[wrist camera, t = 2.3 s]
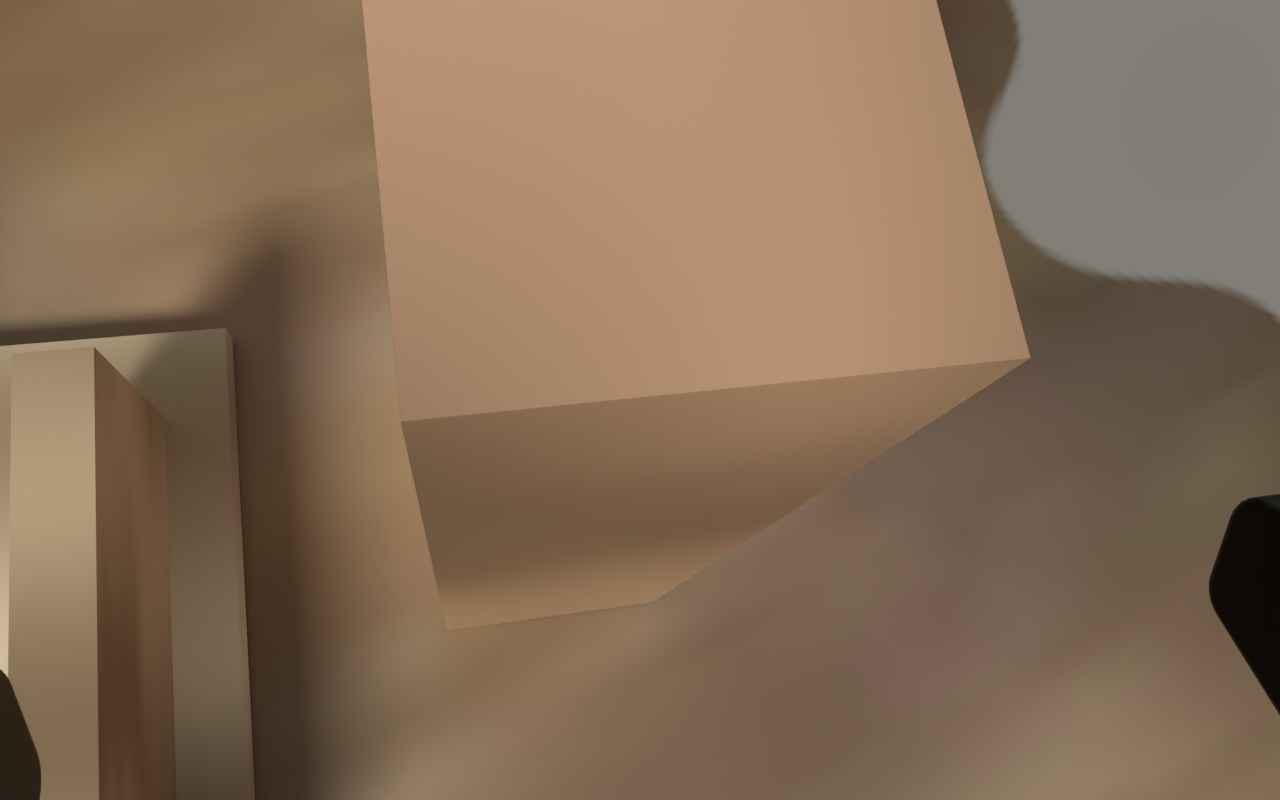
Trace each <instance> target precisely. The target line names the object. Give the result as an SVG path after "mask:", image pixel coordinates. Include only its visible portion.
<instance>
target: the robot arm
mask: <svg viewBox="0 0 1280 800" xmlns="http://www.w3.org/2000/svg"><path fill="white" fill-rule="evenodd" d="M1209 594H1210V600H1211V603H1212V606H1213V608H1214V610H1215V612H1216V614H1217V616H1218V617H1219V619H1220V620H1221V622H1222V624H1223V625H1224V627H1225V628H1226V630H1227V632H1228V633H1229V635H1230V636H1231V638H1232V640H1233V641H1234V643H1235V644H1236V646H1237V648H1238V649H1239V651H1240V652H1241V654H1242V656H1243V657H1244V659H1245V660H1246V662H1247V664H1248V665H1249V667H1250V668H1251V670H1252V672H1253V673H1254V675H1255V676H1256V678H1257V680H1258V681H1259V683H1260V684H1261V686H1262V688H1263V689H1264V691H1265V692H1266V694H1267V696H1268V697H1269V699H1270V700H1271V702H1272V704H1273V705H1274V707H1275V708H1276V710H1277V712H1278V713H1279V715H1280V494H1275V495H1268V496H1260V497H1253V498H1249V499H1246V500H1244V501H1242V502H1241V503H1240V504H1239V505H1238V506H1237V507H1236V508H1235V509H1234V511H1233V513H1232V515H1231V517H1230V520H1229V523H1228V526H1227V529H1226V532H1225V535H1224V537H1223V540H1222V543H1221V546H1220V549H1219V552H1218V555H1217V558H1216V561H1215V564H1214V567H1213V570H1212V572H1211V575H1210V580H1209ZM40 793H41V766H40V760H39V756H38V753H37V750H36V747H35V745H34V742H33V739H32V737H31V734H30V732H29V729H28V726H27V724H26V721H25V719H24V716H23V713H22V711H21V708H20V705H19V703H18V700H17V698H16V695H15V692H14V690H13V687H12V684H11V682H10V680H9V679H8V677H7V675H6V674H5V673H4V672H3V671H2V670H1V669H0V800H40Z"/></svg>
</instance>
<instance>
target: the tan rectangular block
mask: <svg viewBox="0 0 1280 800" xmlns="http://www.w3.org/2000/svg"><path fill="white" fill-rule="evenodd" d="M362 5H363V16H364V27H365V37H366V48H367V59H368V70H369V81H370V92H371V103H372V113H373V124H374V135H375V146H376V157H377V168H378V179H379V190H380V200H381V211H382V222H383V233H384V244H385V255H386V266H387V277H388V287H389V298H390V309H391V320H392V331H393V342H394V353H395V363H396V374H397V385H398V396H399V407H400V418H401V425H402V429H403V434H404V438H405V443H406V447H407V452H408V456H409V461H410V465H411V470H412V474H413V479H414V483H415V488H416V493H417V497H418V502H419V506H420V511H421V515H422V520H423V524H424V529H425V533H426V538H427V542H428V547H429V551H430V556H431V561H432V565H433V570H434V574H435V579H436V583H437V588H438V592H439V597H440V601H441V606H442V610H443V615H444V620H445V624H446V629H447V631H451V630H458V629H465V628H472V627H479V626H487V625H494V624H501V623H508V622H515V621H522V620H530V619H537V618H544V617H551V616H558V615H565V614H573V613H580V612H587V611H594V610H601V609H608V608H615V607H623V606H630V605H637V604H644V603H651V602H653V601H654V600H656V599H657V598H659V597H660V596H662V595H663V594H665V593H666V592H668V591H670V590H671V589H673V588H674V587H676V586H677V585H679V584H680V583H682V582H684V581H685V580H687V579H688V578H690V577H691V576H693V575H694V574H696V573H698V572H699V571H701V570H702V569H704V568H705V567H707V566H708V565H710V564H711V563H713V562H715V561H716V560H718V559H719V558H721V557H722V556H724V555H725V554H727V553H729V552H730V551H732V550H733V549H735V548H736V547H738V546H739V545H741V544H743V543H744V542H746V541H747V540H749V539H750V538H752V537H753V536H755V535H756V534H758V533H760V532H761V531H763V530H764V529H766V528H767V527H769V526H770V525H772V524H774V523H775V522H777V521H778V520H780V519H781V518H783V517H784V516H786V515H788V514H789V513H791V512H792V511H794V510H795V509H797V508H798V507H800V506H801V505H803V504H805V503H806V502H808V501H809V500H811V499H812V498H814V497H815V496H817V495H819V494H820V493H822V492H823V491H825V490H826V489H828V488H829V487H831V486H833V485H834V484H836V483H837V482H839V481H840V480H842V479H843V478H845V477H846V476H848V475H850V474H851V473H853V472H854V471H856V470H857V469H859V468H860V467H862V466H864V465H865V464H867V463H868V462H870V461H871V460H873V459H874V458H876V457H878V456H879V455H881V454H882V453H884V452H885V451H887V450H888V449H890V448H891V447H893V446H895V445H896V444H898V443H899V442H901V441H902V440H904V439H905V438H907V437H909V436H910V435H912V434H913V433H915V432H916V431H918V430H919V429H921V428H923V427H924V426H926V425H927V424H929V423H930V422H932V421H933V420H935V419H937V418H938V417H940V416H941V415H943V414H944V413H946V412H947V411H949V410H950V409H952V408H954V407H955V406H957V405H958V404H960V403H961V402H963V401H964V400H966V399H968V398H969V397H971V396H972V395H974V394H975V393H977V392H978V391H980V390H982V389H983V388H985V387H986V386H988V385H989V384H991V383H992V382H994V381H995V380H997V379H999V378H1000V377H1002V376H1003V375H1005V374H1006V373H1008V372H1009V371H1011V370H1013V369H1014V368H1016V367H1017V366H1019V365H1020V364H1022V363H1023V362H1025V361H1027V360H1028V359H1030V354H1029V351H1028V347H1027V343H1026V339H1025V336H1024V332H1023V328H1022V324H1021V320H1020V317H1019V313H1018V309H1017V305H1016V301H1015V298H1014V294H1013V290H1012V286H1011V282H1010V279H1009V275H1008V271H1007V267H1006V263H1005V260H1004V256H1003V252H1002V248H1001V244H1000V241H999V237H998V233H997V229H996V226H995V222H994V218H993V214H992V210H991V207H990V203H989V199H988V195H987V191H986V188H985V184H984V180H983V176H982V172H981V169H980V165H979V161H978V157H977V153H976V150H975V146H974V142H973V138H972V134H971V131H970V127H969V123H968V119H967V115H966V112H965V108H964V104H963V100H962V97H961V93H960V89H959V85H958V81H957V78H956V74H955V70H954V66H953V62H952V59H951V55H950V51H949V47H948V43H947V40H946V36H945V32H944V28H943V24H942V21H941V17H940V13H939V9H938V5H937V2H936V0H362Z"/></svg>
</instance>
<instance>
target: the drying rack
mask: <svg viewBox="0 0 1280 800" xmlns="http://www.w3.org/2000/svg"><path fill="white" fill-rule="evenodd" d="M0 669H1V670H2V671H3V672H4V673H5V674H6V675H7V677H8V679H9V680H10V682H11V684H12V687H13V690H14V692H15V695H16V698H17V700H18V703H19V705H20V708H21V711H22V713H23V716H24V719H25V721H26V724H27V726H28V729H29V732H30V734H31V737H32V739H33V742H34V745H35V747H36V750H37V753H38V756H39V760H40V766H41V793H40V800H255V788H254V767H253V747H252V726H251V705H250V685H249V664H248V644H247V623H246V603H245V582H244V561H243V541H242V520H241V500H240V479H239V459H238V438H237V417H236V397H235V376H234V356H233V340H232V338H231V336H230V335H229V333H228V331H227V330H226V328H218V329H205V330H193V331H181V332H168V333H156V334H144V335H132V336H119V337H107V338H95V339H82V340H70V341H58V342H45V343H33V344H21V345H8V346H0Z"/></svg>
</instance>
